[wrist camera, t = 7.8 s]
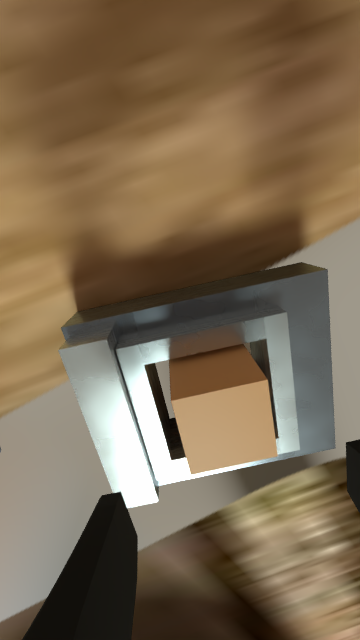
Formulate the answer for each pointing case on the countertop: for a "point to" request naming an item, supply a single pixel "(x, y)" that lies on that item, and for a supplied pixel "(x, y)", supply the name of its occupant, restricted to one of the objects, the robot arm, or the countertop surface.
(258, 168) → the countertop surface
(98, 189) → the countertop surface
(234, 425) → the tan cardboard-like brick
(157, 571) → the countertop surface
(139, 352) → the nested square metal frame
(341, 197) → the countertop surface
